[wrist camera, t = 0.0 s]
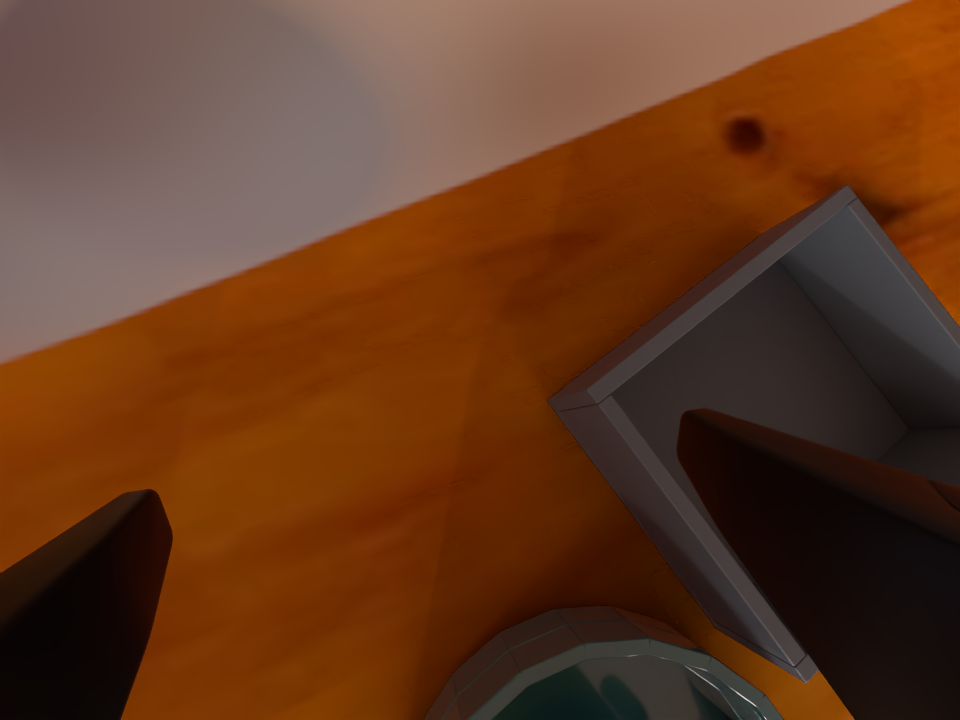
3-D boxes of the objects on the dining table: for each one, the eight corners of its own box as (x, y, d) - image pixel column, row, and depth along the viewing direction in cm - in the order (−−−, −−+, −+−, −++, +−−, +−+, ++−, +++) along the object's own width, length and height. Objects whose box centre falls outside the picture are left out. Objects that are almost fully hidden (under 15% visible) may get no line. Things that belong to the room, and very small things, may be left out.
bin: (916, 432, 27) (1042, 430, 22) (716, 629, 24) (806, 683, 19) (762, 233, 28) (847, 183, 22) (546, 400, 25) (586, 389, 19)
